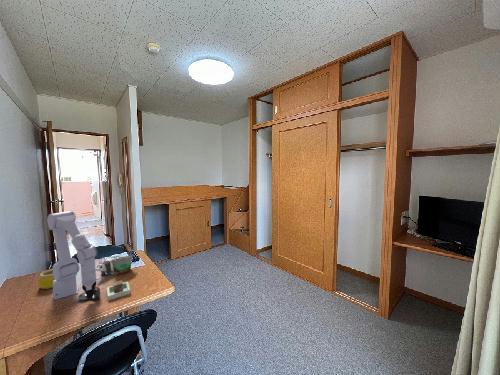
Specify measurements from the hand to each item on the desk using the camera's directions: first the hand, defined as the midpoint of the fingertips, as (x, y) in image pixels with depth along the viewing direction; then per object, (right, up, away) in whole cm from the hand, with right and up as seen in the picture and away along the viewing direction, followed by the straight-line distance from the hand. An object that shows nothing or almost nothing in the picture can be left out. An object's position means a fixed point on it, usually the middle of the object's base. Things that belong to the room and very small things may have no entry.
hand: (90, 297), depth 108 cm
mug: (-33, -2, +16) cm, 37 cm away
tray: (+9, -2, +8) cm, 12 cm away
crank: (-3, -2, +3) cm, 5 cm away
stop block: (+9, -1, +8) cm, 12 cm away
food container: (-1, 0, +30) cm, 30 cm away
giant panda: (-11, 0, +29) cm, 31 cm away
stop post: (-3, -2, +8) cm, 9 cm away
